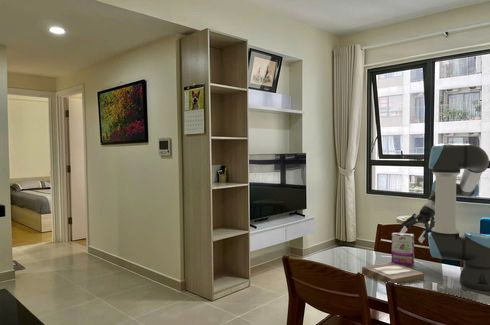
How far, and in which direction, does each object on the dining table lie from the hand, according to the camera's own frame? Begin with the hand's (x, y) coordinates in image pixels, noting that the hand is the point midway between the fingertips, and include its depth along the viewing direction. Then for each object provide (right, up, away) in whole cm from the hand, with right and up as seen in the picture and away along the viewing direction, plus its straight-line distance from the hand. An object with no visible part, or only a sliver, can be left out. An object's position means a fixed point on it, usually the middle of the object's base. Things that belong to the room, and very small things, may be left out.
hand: (409, 238), depth 203 cm
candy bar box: (-5, -13, -3) cm, 14 cm away
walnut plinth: (-19, -13, -23) cm, 33 cm away
